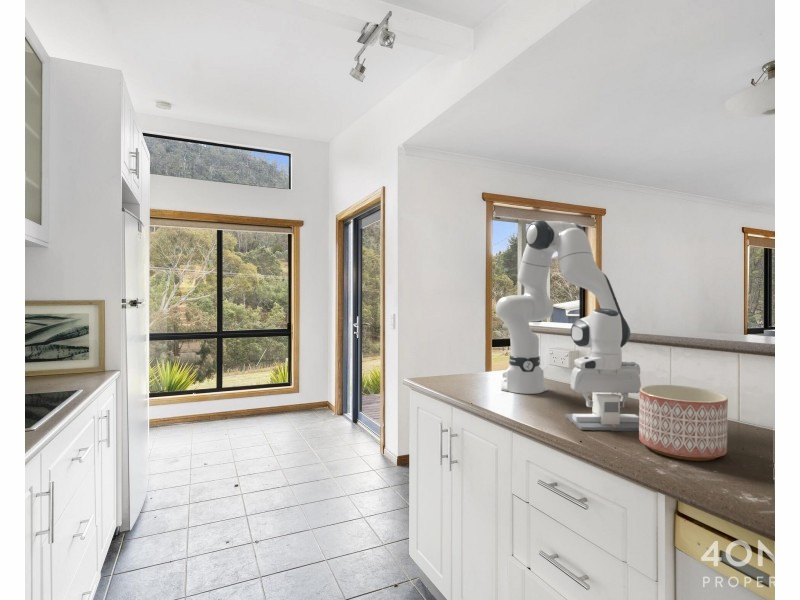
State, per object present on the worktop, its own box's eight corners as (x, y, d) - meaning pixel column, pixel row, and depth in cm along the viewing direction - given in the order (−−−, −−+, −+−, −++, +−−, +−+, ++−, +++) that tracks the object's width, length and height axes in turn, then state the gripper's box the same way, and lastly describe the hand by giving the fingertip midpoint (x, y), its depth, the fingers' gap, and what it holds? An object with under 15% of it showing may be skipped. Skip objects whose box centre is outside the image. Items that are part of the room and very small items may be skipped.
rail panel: (565, 416, 146) (565, 409, 146) (627, 417, 145) (628, 409, 145) (581, 430, 132) (581, 422, 132) (650, 431, 131) (650, 422, 131)
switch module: (592, 416, 142) (592, 391, 142) (608, 416, 142) (608, 391, 142) (602, 424, 134) (603, 397, 134) (619, 424, 134) (620, 397, 134)
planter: (650, 432, 130) (651, 381, 129) (732, 449, 116) (733, 392, 116) (628, 450, 116) (629, 393, 115) (719, 470, 102) (720, 406, 102)
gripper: (635, 360, 141) (634, 404, 141) (569, 359, 141) (568, 403, 142) (645, 363, 134) (644, 409, 135) (576, 363, 135) (575, 409, 136)
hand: (605, 406), depth 138 cm, fingers open, 8 cm apart
